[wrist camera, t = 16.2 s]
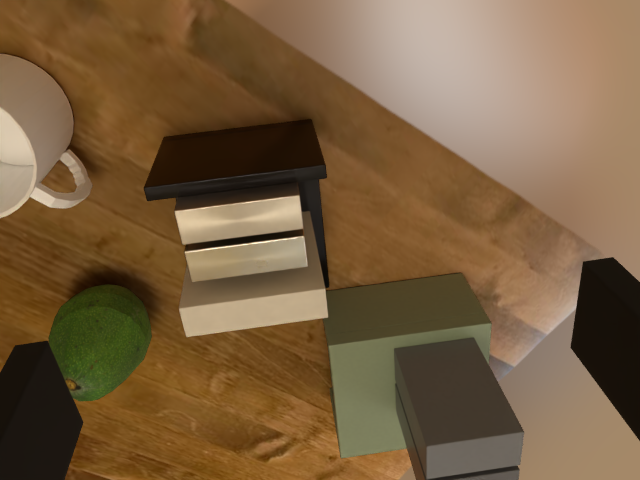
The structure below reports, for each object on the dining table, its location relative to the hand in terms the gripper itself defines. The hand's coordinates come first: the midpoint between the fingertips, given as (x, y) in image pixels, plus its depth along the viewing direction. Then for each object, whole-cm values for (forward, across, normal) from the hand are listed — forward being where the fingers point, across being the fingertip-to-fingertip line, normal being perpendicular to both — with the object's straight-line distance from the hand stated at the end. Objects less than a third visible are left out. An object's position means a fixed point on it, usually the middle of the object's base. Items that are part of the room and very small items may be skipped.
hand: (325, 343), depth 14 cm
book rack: (+34, -4, -13) cm, 37 cm away
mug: (+34, -20, -3) cm, 40 cm away
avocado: (+34, -18, -20) cm, 44 cm away
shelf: (+34, +8, -29) cm, 46 cm away
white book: (+33, -4, -14) cm, 36 cm away
